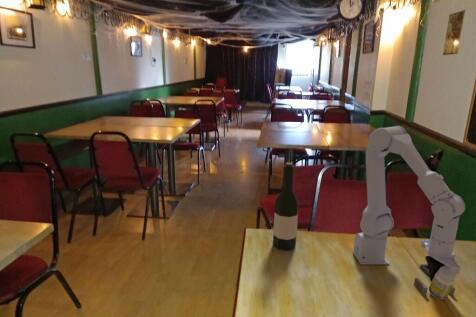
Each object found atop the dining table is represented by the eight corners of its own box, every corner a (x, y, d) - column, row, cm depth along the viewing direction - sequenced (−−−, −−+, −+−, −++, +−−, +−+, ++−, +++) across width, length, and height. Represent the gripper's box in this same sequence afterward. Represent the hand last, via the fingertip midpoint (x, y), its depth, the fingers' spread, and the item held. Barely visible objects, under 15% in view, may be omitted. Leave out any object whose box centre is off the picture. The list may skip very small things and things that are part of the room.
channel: (423, 295, 95) (424, 288, 94) (413, 284, 100) (415, 277, 99) (453, 295, 95) (455, 288, 94) (442, 284, 100) (444, 277, 99)
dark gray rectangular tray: (430, 278, 103) (431, 275, 102) (419, 267, 109) (420, 264, 108) (450, 278, 103) (450, 275, 103) (438, 267, 109) (438, 264, 108)
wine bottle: (270, 239, 125) (274, 160, 117) (292, 238, 126) (297, 160, 118) (275, 251, 117) (279, 167, 109) (299, 250, 118) (305, 166, 110)
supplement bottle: (443, 286, 97) (453, 266, 93) (450, 301, 93) (461, 280, 89) (425, 284, 97) (435, 264, 93) (431, 298, 93) (442, 278, 89)
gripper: (475, 252, 87) (465, 298, 90) (440, 226, 101) (433, 267, 104) (448, 252, 86) (439, 298, 90) (417, 226, 100) (410, 267, 104)
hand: (434, 281), depth 97 cm, fingers closed, pressing on supplement bottle
